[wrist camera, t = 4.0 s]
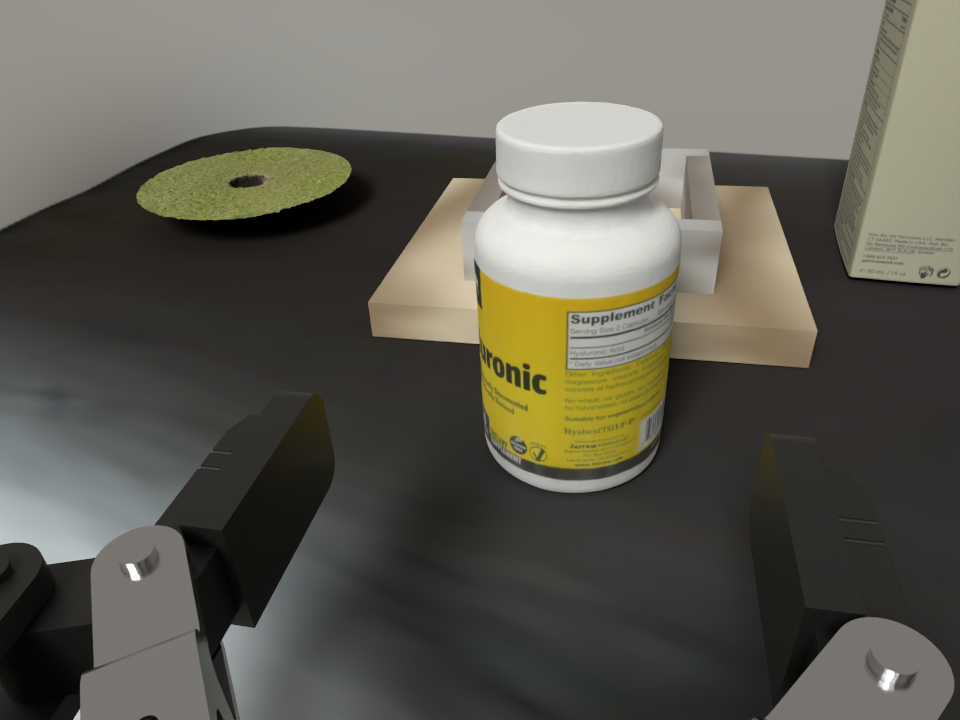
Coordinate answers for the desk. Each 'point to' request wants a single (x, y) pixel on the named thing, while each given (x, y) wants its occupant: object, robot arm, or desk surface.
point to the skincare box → (907, 152)
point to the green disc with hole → (243, 183)
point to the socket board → (701, 282)
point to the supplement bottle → (576, 295)
